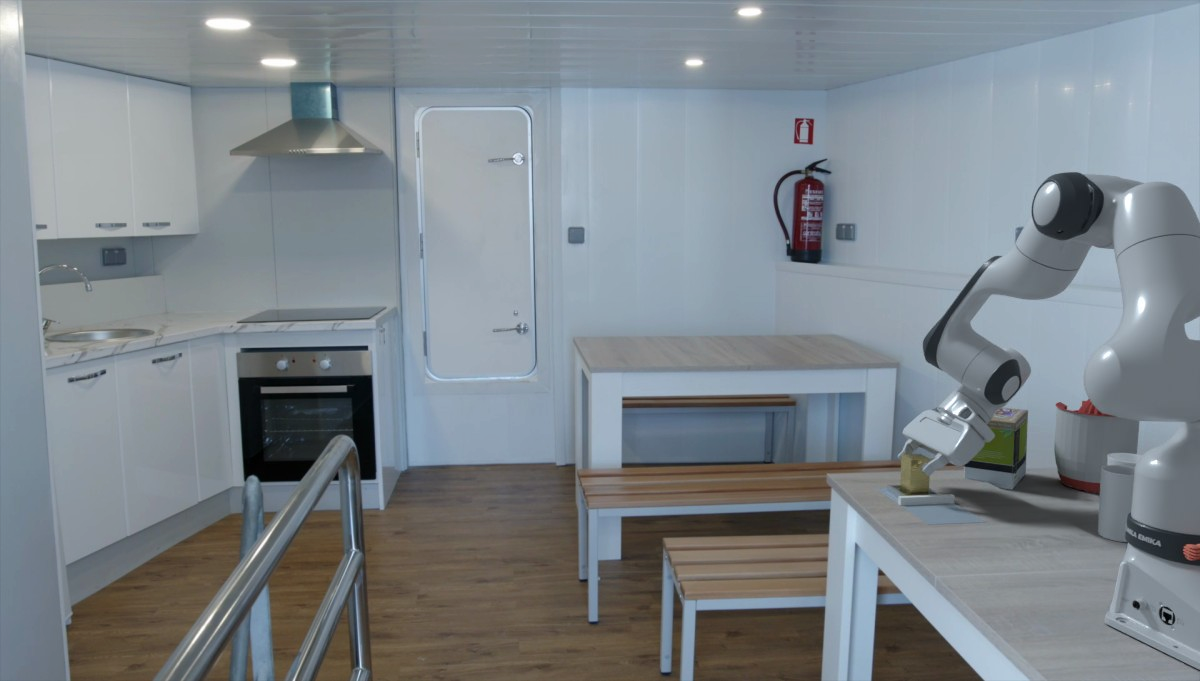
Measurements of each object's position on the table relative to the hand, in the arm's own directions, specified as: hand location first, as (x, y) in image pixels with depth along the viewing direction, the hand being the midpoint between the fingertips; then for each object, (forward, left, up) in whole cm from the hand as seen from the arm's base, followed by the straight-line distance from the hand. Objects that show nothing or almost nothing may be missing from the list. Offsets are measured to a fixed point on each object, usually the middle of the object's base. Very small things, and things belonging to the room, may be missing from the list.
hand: (912, 466), depth 172 cm
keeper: (0, -1, -7) cm, 7 cm away
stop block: (0, -1, -6) cm, 6 cm away
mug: (-22, -28, -7) cm, 36 cm away
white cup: (-9, -40, -7) cm, 41 cm away
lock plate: (-5, -1, -7) cm, 9 cm away
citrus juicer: (+6, -43, -7) cm, 44 cm away
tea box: (+13, -26, -7) cm, 29 cm away
